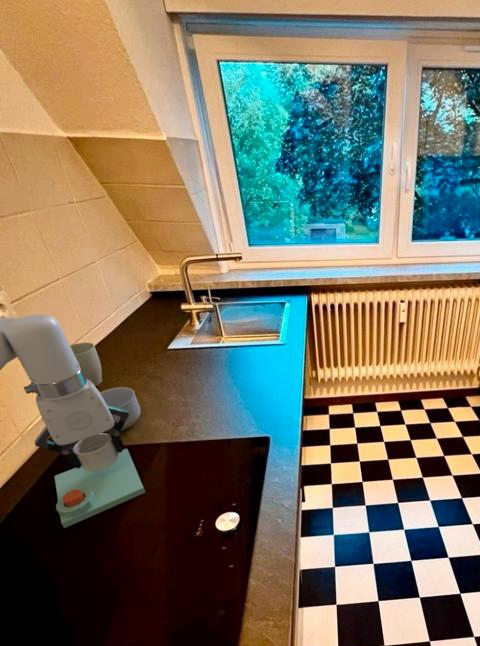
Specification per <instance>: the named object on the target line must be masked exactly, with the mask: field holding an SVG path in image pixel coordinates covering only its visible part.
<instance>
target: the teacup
mask: <svg viewBox="0 0 480 646" xmlns="http://www.w3.org/2000/svg"><path fill="white" fill-rule="evenodd" d="M99 392H100V394H101V396H102V397H103V399H104V401H105V403H106V405H108V406H112V407H116V408H120V409H124V410H127V411H128V413H129V416H128V418H127V420H126V421H125V424H124V426H123V428H122V429H121V431H125V430H127V429H129V428H131V427H132V426H134V425H135V424H136V422H137V421H138V419H139V418H140V416H141V412H142V411H141V410H142V409H141V407H140V404H139V402H138V398H137V396H136V392H135V391H134V390H133V389H132V388H130V387H125V386H122V387H121V386H120V387H113V388H108V389H106V390H102V391H99ZM111 415H112V414H111ZM112 417H113V420H114V423H115V422H116V420H117V419H118V418H119V416H116V415H112ZM121 431H120V432H121Z"/></svg>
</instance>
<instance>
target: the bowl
mask: <svg viewBox="0 0 480 646" xmlns="http://www.w3.org/2000/svg"><path fill="white" fill-rule="evenodd" d="M73 451H74V454H75V455H76V457H77V459H78V461H79V462H80V464H81V466H82V468H83V469H84V470H86V471H101V470H104V469H106V468H108V467H110V466H111V465H113V464H114V463H115V462H116V461H117V459H118V458H119V455H120V454H119V453H118V451H117V449H116V447H115V445H114V442H113V440H112V438H111V435H110V433H108V432H106V433H105V432H102V433H100V434H97V435H94V436H91V437H88V438H85V439H82V440H80V441H77V442H75V444H74V446H73Z"/></svg>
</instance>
